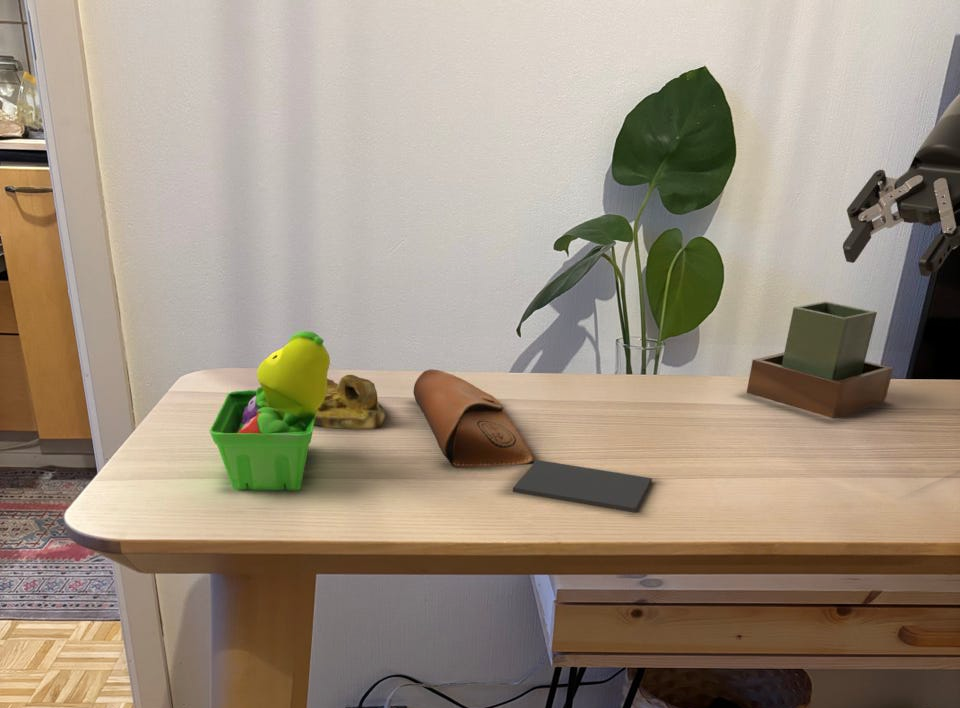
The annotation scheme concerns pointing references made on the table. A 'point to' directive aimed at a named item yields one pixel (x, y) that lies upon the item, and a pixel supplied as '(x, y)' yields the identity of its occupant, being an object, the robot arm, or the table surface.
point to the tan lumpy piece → (350, 405)
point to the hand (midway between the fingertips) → (884, 263)
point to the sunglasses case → (468, 422)
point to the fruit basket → (274, 417)
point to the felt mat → (584, 485)
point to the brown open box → (818, 387)
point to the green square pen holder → (829, 339)
